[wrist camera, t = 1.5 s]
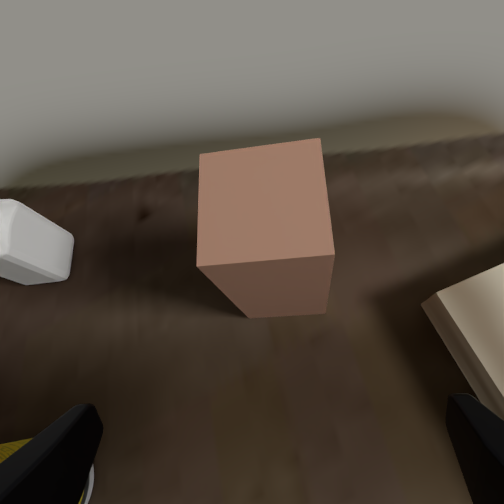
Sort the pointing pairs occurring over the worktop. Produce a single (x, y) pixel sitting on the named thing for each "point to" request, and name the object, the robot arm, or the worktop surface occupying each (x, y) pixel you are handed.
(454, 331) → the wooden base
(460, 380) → the worktop surface
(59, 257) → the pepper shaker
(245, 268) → the terracotta block
